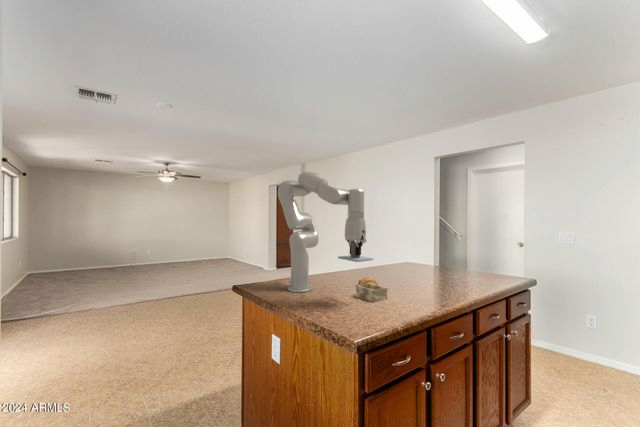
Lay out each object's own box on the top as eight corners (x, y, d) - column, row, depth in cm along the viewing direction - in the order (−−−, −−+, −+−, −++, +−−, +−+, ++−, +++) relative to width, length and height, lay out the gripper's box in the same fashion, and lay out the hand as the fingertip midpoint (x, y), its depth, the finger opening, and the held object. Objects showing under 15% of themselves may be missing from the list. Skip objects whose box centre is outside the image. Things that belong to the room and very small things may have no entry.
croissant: (382, 301, 166) (389, 287, 167) (367, 293, 163) (374, 279, 164) (363, 290, 186) (369, 277, 187) (349, 283, 183) (356, 270, 184)
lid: (338, 258, 152) (338, 241, 152) (353, 256, 158) (353, 240, 158) (357, 262, 141) (357, 244, 141) (372, 260, 148) (373, 243, 147)
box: (356, 297, 159) (356, 285, 159) (368, 294, 164) (369, 283, 164) (374, 303, 149) (374, 290, 149) (387, 300, 155) (387, 288, 155)
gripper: (338, 215, 153) (337, 253, 154) (362, 216, 141) (362, 257, 141) (349, 215, 158) (349, 252, 158) (374, 216, 145) (373, 256, 145)
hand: (355, 254), depth 150 cm, fingers closed on lid, 3 cm apart
